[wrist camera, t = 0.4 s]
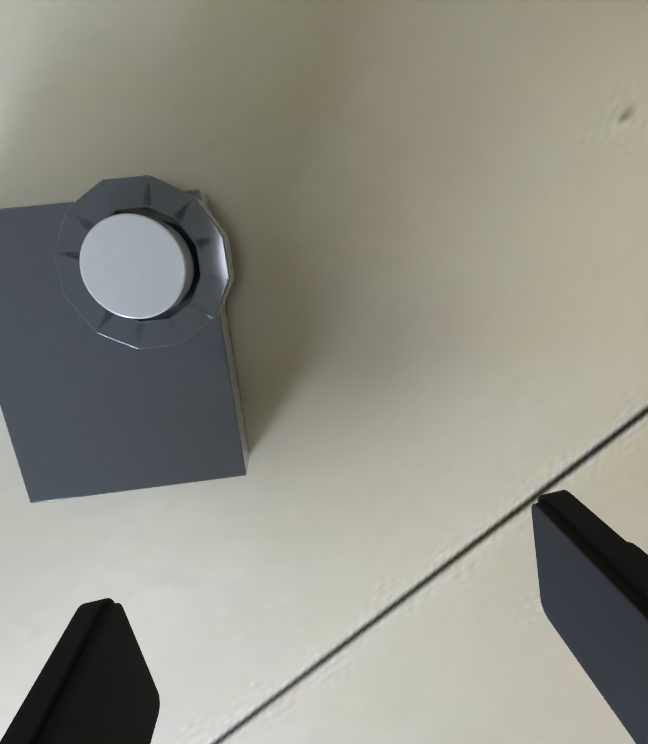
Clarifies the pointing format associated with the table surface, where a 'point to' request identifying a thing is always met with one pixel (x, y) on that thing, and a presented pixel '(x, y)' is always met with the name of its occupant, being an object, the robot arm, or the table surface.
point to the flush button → (136, 265)
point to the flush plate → (115, 354)
